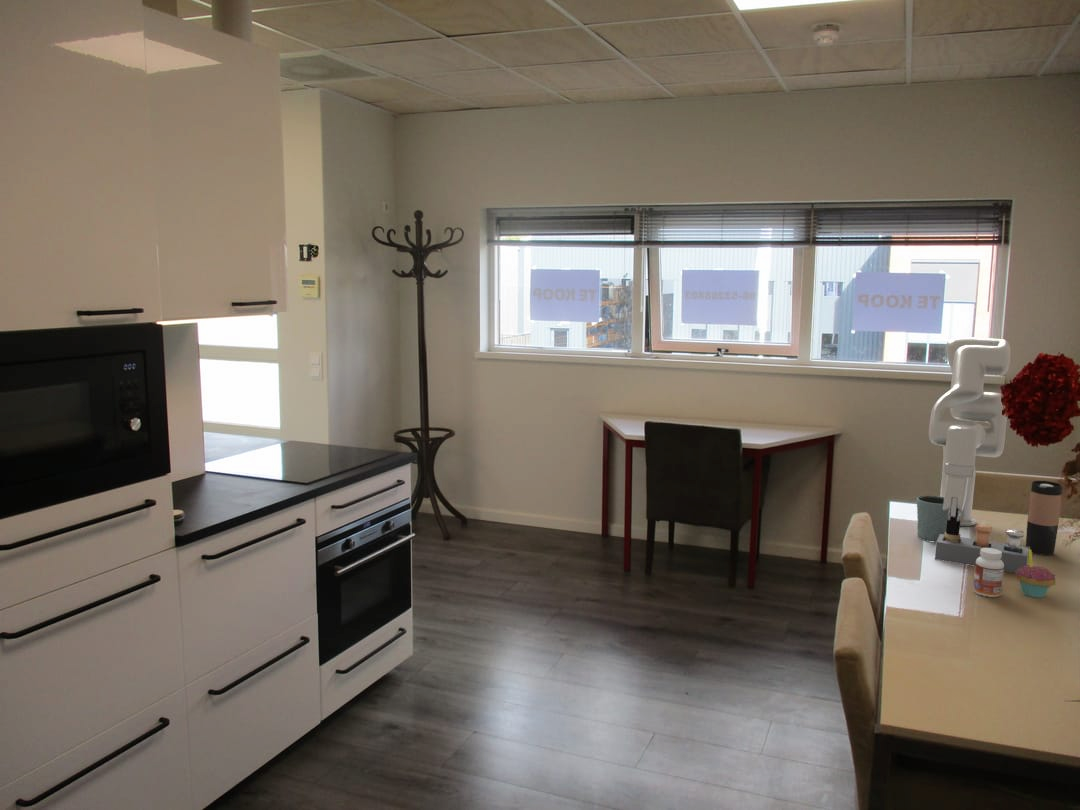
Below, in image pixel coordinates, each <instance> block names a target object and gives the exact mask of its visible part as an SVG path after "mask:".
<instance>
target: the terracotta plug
mask: <svg viewBox="0 0 1080 810" xmlns="http://www.w3.org/2000/svg"><path fill="white" fill-rule="evenodd" d="M974 530H975V531H976V535H975V536H976V537H975V539H976V544H975V546H980V547H986V548H988V546H989V541H990V535H991V533H992V531H993V527H992V526H991V525H989V524H988V525H987V524H983V523H982V524H977V523H976V524H975V529H974Z"/></svg>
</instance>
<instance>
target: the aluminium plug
mask: <svg viewBox="0 0 1080 810" xmlns="http://www.w3.org/2000/svg"><path fill="white" fill-rule="evenodd" d="M1005 533H1006V536H1007V537H1006V538H1007V540H1006V544H1007V548H1006V551H1011V552H1017V553H1020V546H1022V544H1021V542H1022V538H1024V530H1021V529H1015V528H1007V529H1006V532H1005Z"/></svg>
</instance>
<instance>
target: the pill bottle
mask: <svg viewBox="0 0 1080 810" xmlns="http://www.w3.org/2000/svg"><path fill="white" fill-rule="evenodd" d="M980 555H981V557H978V558H977V560H976V565H975V566H974V575H973V584H972V585H973V586H972V590H973V592H974V593H976V594H977V595H980V596H981V595H983V596H982V597H986V596H988V597H987V598H997V597H1000V596H1001V595H1002V587H1003V578H1004V571H1003V570H1004V563H1003V562H1002V561H1001V560H1000V559H1001V557H1002V552H1001V551H1000V550H997V549H993V548H981V550H980Z"/></svg>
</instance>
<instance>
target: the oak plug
mask: <svg viewBox="0 0 1080 810" xmlns="http://www.w3.org/2000/svg"><path fill="white" fill-rule="evenodd" d="M944 537H945V538H946V541H949V542H955V543H958V540H960V537H961V534H960V533H959V535H951V534H947V533H946V532H945V534H944Z"/></svg>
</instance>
